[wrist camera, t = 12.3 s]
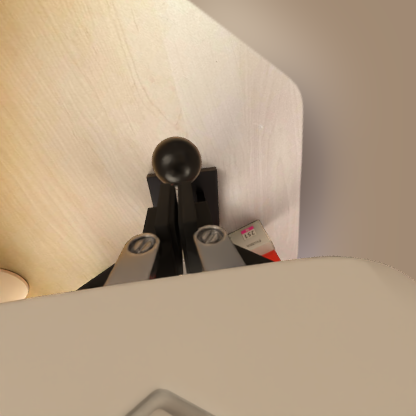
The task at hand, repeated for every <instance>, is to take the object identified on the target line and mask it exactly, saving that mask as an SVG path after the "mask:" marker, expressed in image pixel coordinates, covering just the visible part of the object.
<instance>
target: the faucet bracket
mask: <svg viewBox="0 0 416 416" xmlns="http://www.w3.org/2000/svg"><path fill="white" fill-rule="evenodd" d="M147 181H148V185H149V190H150V194H151V198H152V202H153V207H157V204H158V198H159V191H160V185H161V184H165V183H163V182H162V181H161V180H160V179H159V178H158V177H157V176H156V174H155V173H154V174H148V175H147ZM191 186H192V192H193V199H194V203H195V202H204V201H207V202H208V206H209V210H210V213H211V217H212V221H213V225H216V226H219V206H218V181H217V169H216V167H211V168H201V170H200V173H199V175H198V176H197V178H196V179H195V180H194V181H193V182H192V183H191Z"/></svg>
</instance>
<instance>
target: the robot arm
mask: <svg viewBox="0 0 416 416" xmlns="http://www.w3.org/2000/svg"><path fill="white" fill-rule="evenodd" d="M183 255H184V261H185V267H186V273H187V274H186V275H183ZM179 275H180V276H179ZM0 416H416V281H415V280H413V279H412V278H410V277H408V276H407V275H406V274H404V273H402V272H401V271H399V270H397V269H395V268H393V267H391V266H388V265H386V264H383V263H380V262H376V261H372V260H368V259H361V258H354V257H341V256H325V257H324V256H323V257H311V258H302V259H292V260H284V261H277V262H274V261H272V260H270V259H268V258H265V257H263V256H261V255H258V254H256V253H254V252H252V251H249V250H247V249H245V248H242V247H240V246H238V245H236V244H233V242H232V241H231V239H230V237H229V236H228V234H227V232H226V231H225V230H224V229H223V228H222V227H220V226H216V225H213V221H212V217H211V213H210V210H209V206H208V202H207V201H204V202H195V203H194V199H193V192H192V186H191V181H184V182H181V184H180V185H178V202H177V195H176V189H175V185H171V183H166V184H161V185H160V191H159V198H158V204H157V207H153V208H148V211H147V215H146V220H145V224H144V229H143V233H142V234H139V235H136V236H134V237H132V238H131V239H130V240H129V241H128V242H127V243H126V244H125V246H124V248H123V250H122V252H121V254H120V255H119V257H118V259H117V261H116V263H115V264H113V265H112V266H111V267H109V268H108V269H106V270H105V271H103V272H102V273H101V274H99V275H98V276H96V277H95V278H93V279H92V280H90V281H89V282H88V283H86V284H85V285H83V286H82V287H80V288H79V289H78V290H76V291H71V292H64V293H58V294H51V295H44V296H38V297H32V298H26V299H21V300H15V301H9V302H4V303H0Z"/></svg>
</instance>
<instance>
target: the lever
mask: <svg viewBox="0 0 416 416" xmlns="http://www.w3.org/2000/svg"><path fill="white" fill-rule="evenodd" d="M201 165H202V160H201V155H200V152H199V150H198V149H197V147H196V146H195V145H194V144H193V143H192V142H191V141H189V140H187V139H185V138H182V137H170V138H167V139H165V140H163V141H161V142H160V143H159V144H158V145H157V147H156V148H155V150H154V152H153V156H152V166H153V170H154V172H155V174H156V176H157V177H158V178H159V179H160V180H161V181H162V182H163V183H165V184H166V183H171V185H175V189H176V195H177V202H178V185H180V184H181V182H184V181H191V183H192V182H193V181H194V180H195V179H196V178H197V176H198V175H199V173H200V170H201ZM186 274H187V273H186V267H185V261H184V255H183V275H186Z"/></svg>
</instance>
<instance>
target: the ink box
mask: <svg viewBox="0 0 416 416" xmlns="http://www.w3.org/2000/svg"><path fill="white" fill-rule="evenodd" d="M228 236H229V237H230V239H231V241H232V242H233V244H236V245H238V246H240V247H242V248H245V249H247V250H249V251H252V252H254V253H256V254H258V255H261V256H263V257H265V258H268V259H270V260H272V261H274V262H277V261H281V260H280V258H279V257H278V255H277V253H276V252H275V247H274V245H273V243H272V241H271V240H270V238H269V236H268V235H267V233H266V231H265V230H264V228H263V226H262V224H261V223H260V221H259V220H257V221H255V222H253V223H251V224H249V225H247V226H245V227H243V228H241V229H239V230H237V231H235V232H233V233H231V234H229V235H228Z"/></svg>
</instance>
